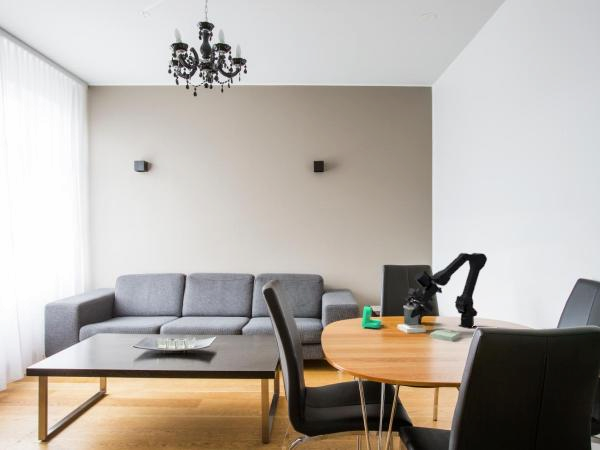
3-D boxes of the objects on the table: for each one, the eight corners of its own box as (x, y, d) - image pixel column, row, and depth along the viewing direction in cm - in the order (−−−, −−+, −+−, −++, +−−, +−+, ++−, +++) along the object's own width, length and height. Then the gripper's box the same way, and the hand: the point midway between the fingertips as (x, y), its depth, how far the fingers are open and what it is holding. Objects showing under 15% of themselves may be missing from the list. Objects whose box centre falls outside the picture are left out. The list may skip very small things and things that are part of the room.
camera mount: (376, 330, 198) (376, 309, 199) (361, 328, 201) (361, 308, 202) (381, 325, 209) (381, 305, 210) (367, 323, 212) (367, 304, 213)
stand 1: (415, 327, 203) (415, 323, 203) (425, 332, 193) (425, 327, 194) (397, 328, 201) (397, 324, 201) (407, 333, 191) (407, 329, 191)
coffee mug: (406, 324, 210) (406, 305, 210) (407, 320, 219) (407, 302, 219) (429, 325, 207) (429, 306, 207) (429, 322, 215) (428, 303, 215)
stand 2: (439, 333, 190) (439, 329, 191) (459, 337, 184) (459, 332, 184) (430, 337, 183) (430, 333, 183) (451, 341, 176) (451, 337, 176)
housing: (413, 324, 201) (413, 305, 201) (419, 327, 195) (418, 307, 195) (403, 325, 199) (403, 305, 199) (409, 327, 194) (408, 307, 194)
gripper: (408, 280, 208) (389, 302, 205) (428, 284, 190) (407, 308, 187) (422, 294, 209) (403, 316, 207) (442, 300, 191) (422, 324, 188)
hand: (408, 316), depth 197 cm, fingers closed on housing, 5 cm apart
